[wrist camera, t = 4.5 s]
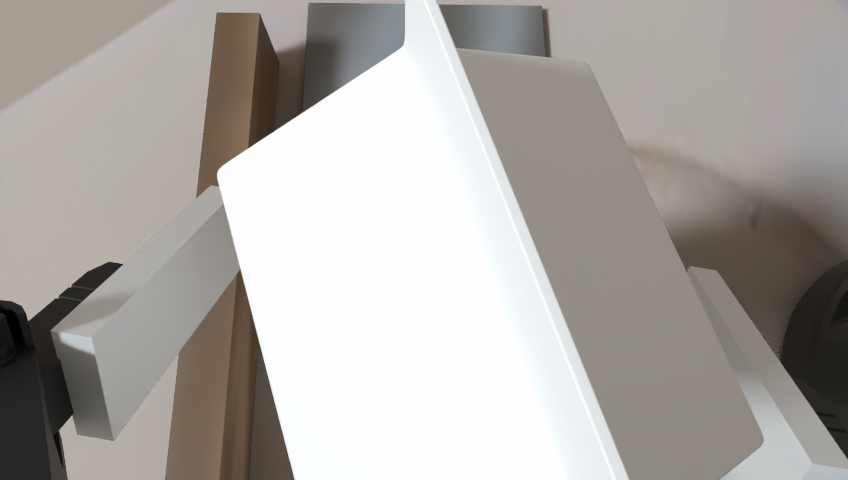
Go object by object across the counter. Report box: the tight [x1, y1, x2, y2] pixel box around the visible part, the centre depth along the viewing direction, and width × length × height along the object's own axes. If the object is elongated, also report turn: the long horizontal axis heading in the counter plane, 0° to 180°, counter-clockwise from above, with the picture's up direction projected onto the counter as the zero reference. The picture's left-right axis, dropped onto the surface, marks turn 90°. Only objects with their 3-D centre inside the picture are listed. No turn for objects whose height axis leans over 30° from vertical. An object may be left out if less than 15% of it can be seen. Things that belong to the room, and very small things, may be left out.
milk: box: [217, 0, 764, 480], centre depth 15 cm, size 6×6×22 cm
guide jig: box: [165, 3, 546, 480], centre depth 25 cm, size 16×26×4 cm, turn 0°
